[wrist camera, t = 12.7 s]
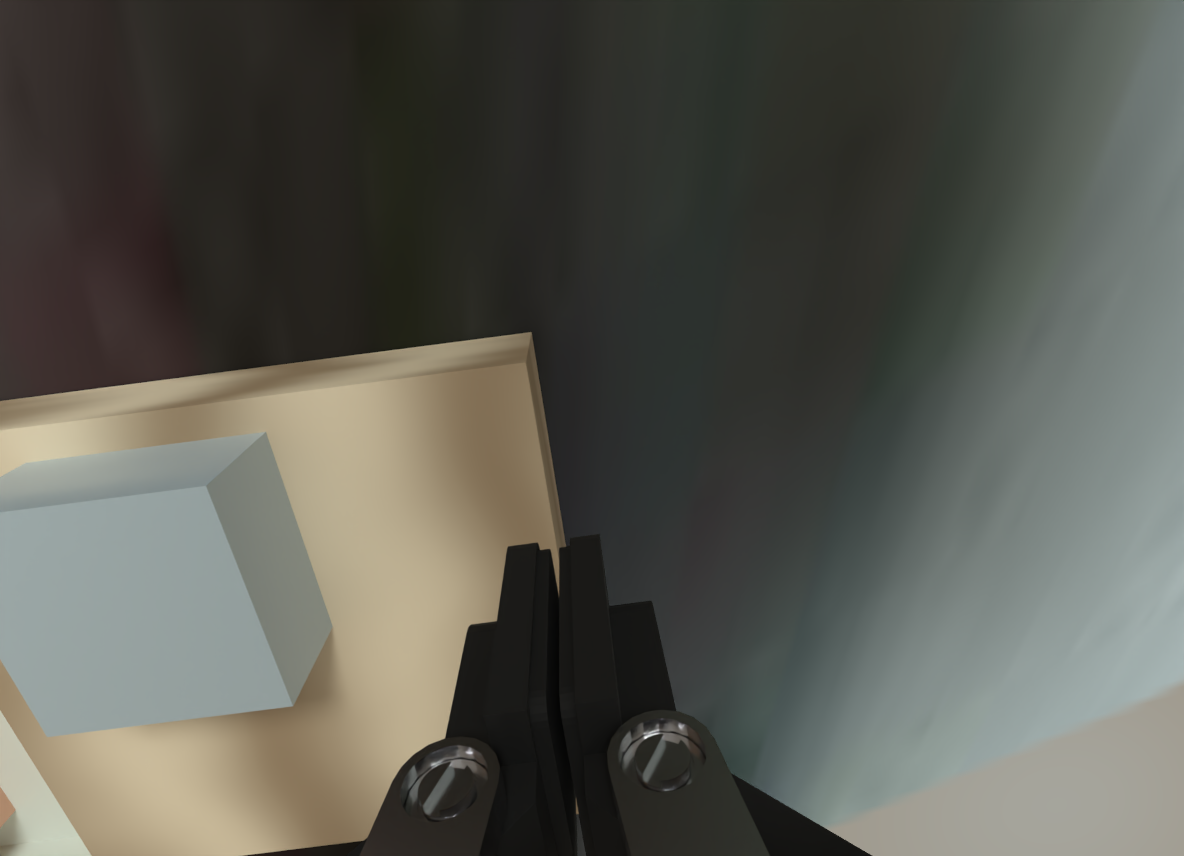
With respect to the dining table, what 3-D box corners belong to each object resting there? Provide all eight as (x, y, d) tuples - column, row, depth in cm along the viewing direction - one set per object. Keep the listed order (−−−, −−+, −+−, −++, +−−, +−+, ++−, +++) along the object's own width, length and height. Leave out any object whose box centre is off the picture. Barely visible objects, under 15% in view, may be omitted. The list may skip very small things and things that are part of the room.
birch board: (531, 332, 15) (525, 362, 13) (596, 736, 20) (601, 811, 18) (-53, 408, 15) (-163, 451, 13) (154, 792, 20) (102, 872, 18)
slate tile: (265, 431, 13) (205, 486, 11) (332, 626, 15) (292, 706, 13) (26, 463, 13) (-83, 522, 11) (122, 653, 15) (47, 737, 13)
